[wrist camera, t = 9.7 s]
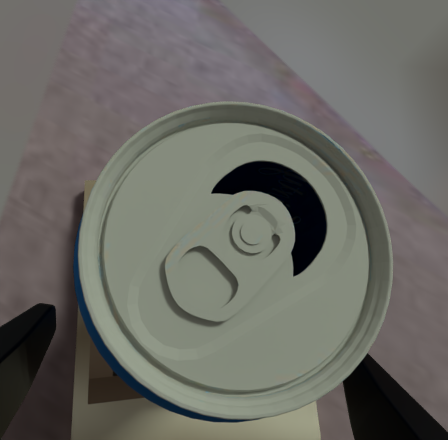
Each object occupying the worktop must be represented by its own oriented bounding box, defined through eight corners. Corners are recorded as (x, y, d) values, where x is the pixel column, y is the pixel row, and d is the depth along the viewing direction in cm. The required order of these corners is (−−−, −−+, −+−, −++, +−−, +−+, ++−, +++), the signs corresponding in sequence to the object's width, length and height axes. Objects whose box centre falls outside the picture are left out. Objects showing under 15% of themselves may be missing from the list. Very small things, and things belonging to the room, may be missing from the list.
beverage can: (276, 286, 17) (473, 246, 6) (194, 378, 16) (255, 570, 4) (198, 206, 18) (242, 31, 7) (108, 284, 16) (-45, 227, 5)
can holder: (323, 516, 16) (350, 553, 13) (70, 568, 14) (49, 623, 11) (281, 186, 20) (295, 170, 18) (89, 187, 18) (77, 169, 16)
